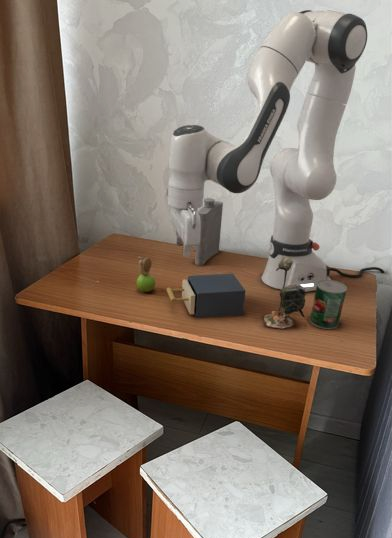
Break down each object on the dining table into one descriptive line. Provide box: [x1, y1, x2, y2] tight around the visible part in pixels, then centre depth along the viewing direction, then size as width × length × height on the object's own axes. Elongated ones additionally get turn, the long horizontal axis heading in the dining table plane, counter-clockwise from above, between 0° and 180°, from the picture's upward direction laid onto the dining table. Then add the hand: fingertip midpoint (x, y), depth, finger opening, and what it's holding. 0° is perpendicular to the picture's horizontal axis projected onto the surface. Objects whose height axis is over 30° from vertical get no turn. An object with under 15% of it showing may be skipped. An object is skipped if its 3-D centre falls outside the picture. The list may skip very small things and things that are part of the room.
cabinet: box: [187, 273, 246, 319], centre depth 139 cm, size 13×11×7 cm
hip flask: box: [194, 197, 224, 266], centre depth 167 cm, size 16×4×20 cm, turn 155°
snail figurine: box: [136, 256, 156, 293], centre depth 144 cm, size 5×6×12 cm
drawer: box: [166, 278, 197, 315], centre depth 138 cm, size 17×10×6 cm, turn 104°
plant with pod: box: [262, 256, 306, 330], centre depth 130 cm, size 8×11×20 cm
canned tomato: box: [309, 279, 348, 330], centre depth 134 cm, size 8×8×11 cm
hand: (183, 250), depth 130 cm, fingers open, 7 cm apart
